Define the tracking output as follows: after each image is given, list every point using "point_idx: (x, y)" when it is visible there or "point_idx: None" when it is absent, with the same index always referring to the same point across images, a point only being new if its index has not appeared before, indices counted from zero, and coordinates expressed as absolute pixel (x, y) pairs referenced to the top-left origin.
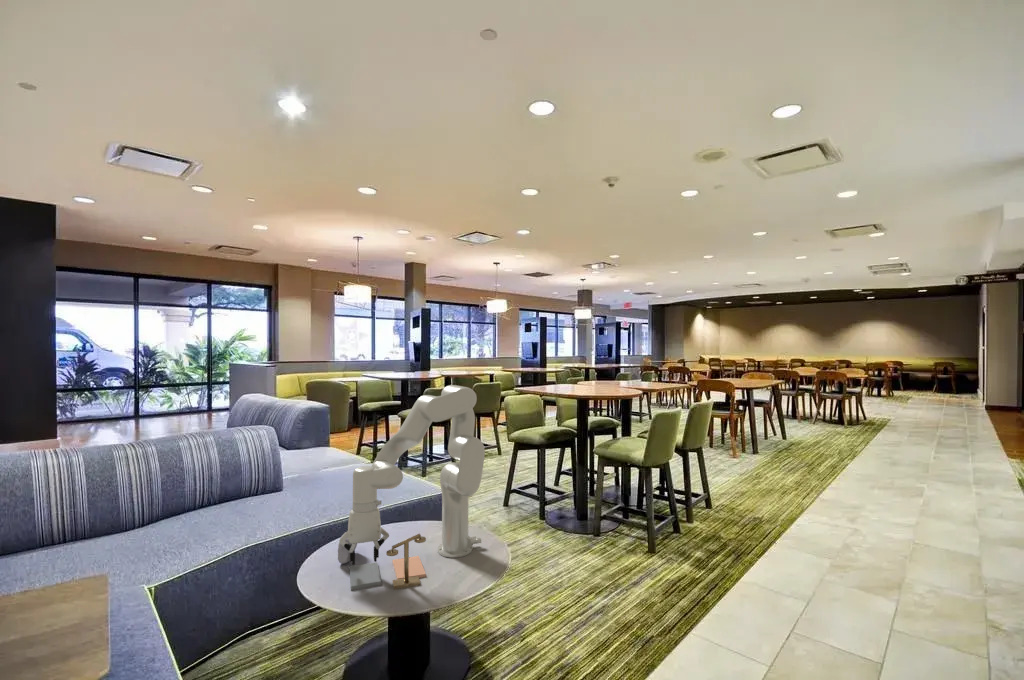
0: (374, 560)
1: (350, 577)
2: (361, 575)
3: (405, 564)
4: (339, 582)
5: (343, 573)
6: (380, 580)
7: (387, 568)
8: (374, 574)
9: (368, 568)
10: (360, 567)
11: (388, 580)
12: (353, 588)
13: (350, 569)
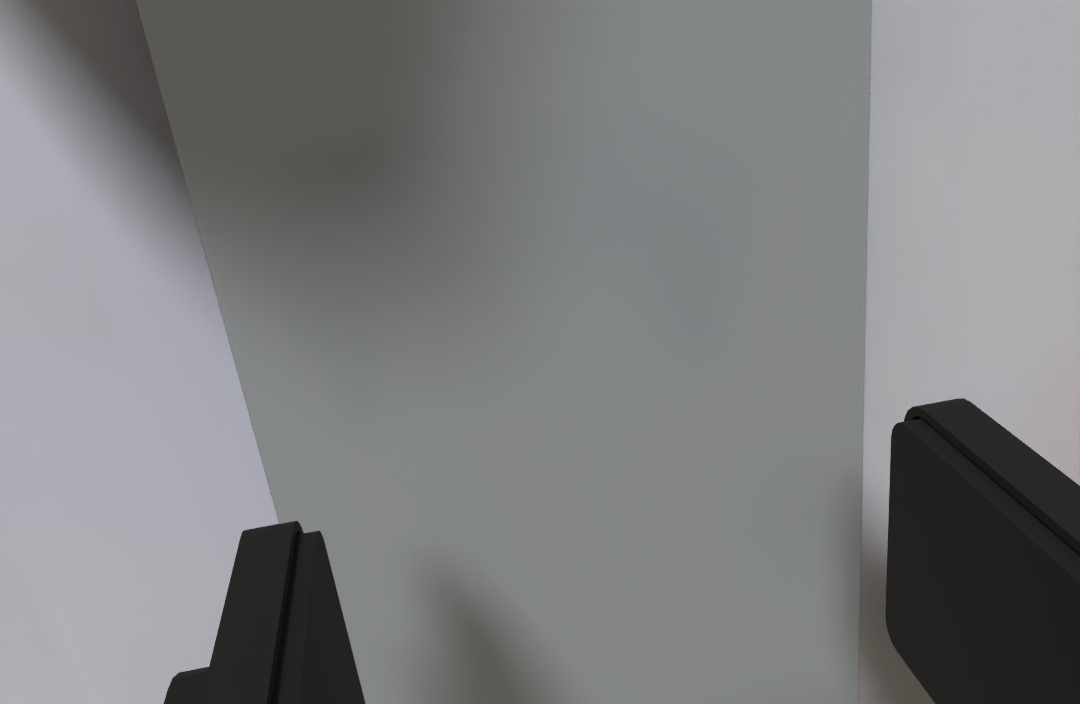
0: (907, 660)
1: None
2: (508, 475)
3: None
4: (71, 496)
5: (29, 98)
6: (852, 687)
7: (1025, 60)
8: (765, 476)
9: (644, 173)
10: (443, 73)
11: None
12: None
13: (192, 137)
